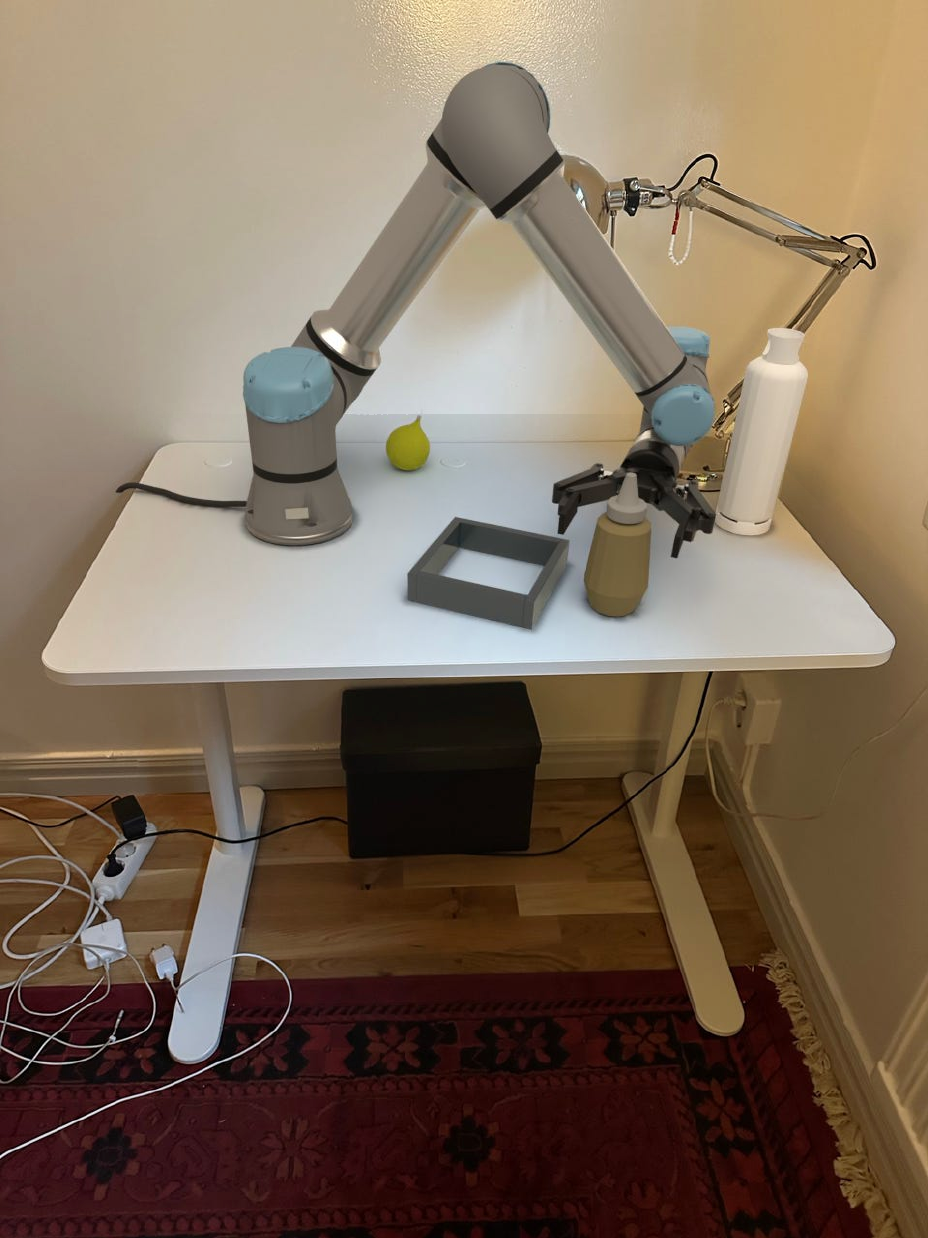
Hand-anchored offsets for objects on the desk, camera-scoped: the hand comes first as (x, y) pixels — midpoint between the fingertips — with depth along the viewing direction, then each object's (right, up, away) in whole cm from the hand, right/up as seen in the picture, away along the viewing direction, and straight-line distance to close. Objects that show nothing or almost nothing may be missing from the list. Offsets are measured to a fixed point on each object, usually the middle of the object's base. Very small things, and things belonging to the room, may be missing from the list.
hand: (617, 535), depth 103 cm
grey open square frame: (-15, -5, +12) cm, 20 cm away
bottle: (+24, +5, +29) cm, 37 cm away
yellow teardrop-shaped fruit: (-27, +15, +41) cm, 51 cm away
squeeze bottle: (+1, -8, +9) cm, 12 cm away
